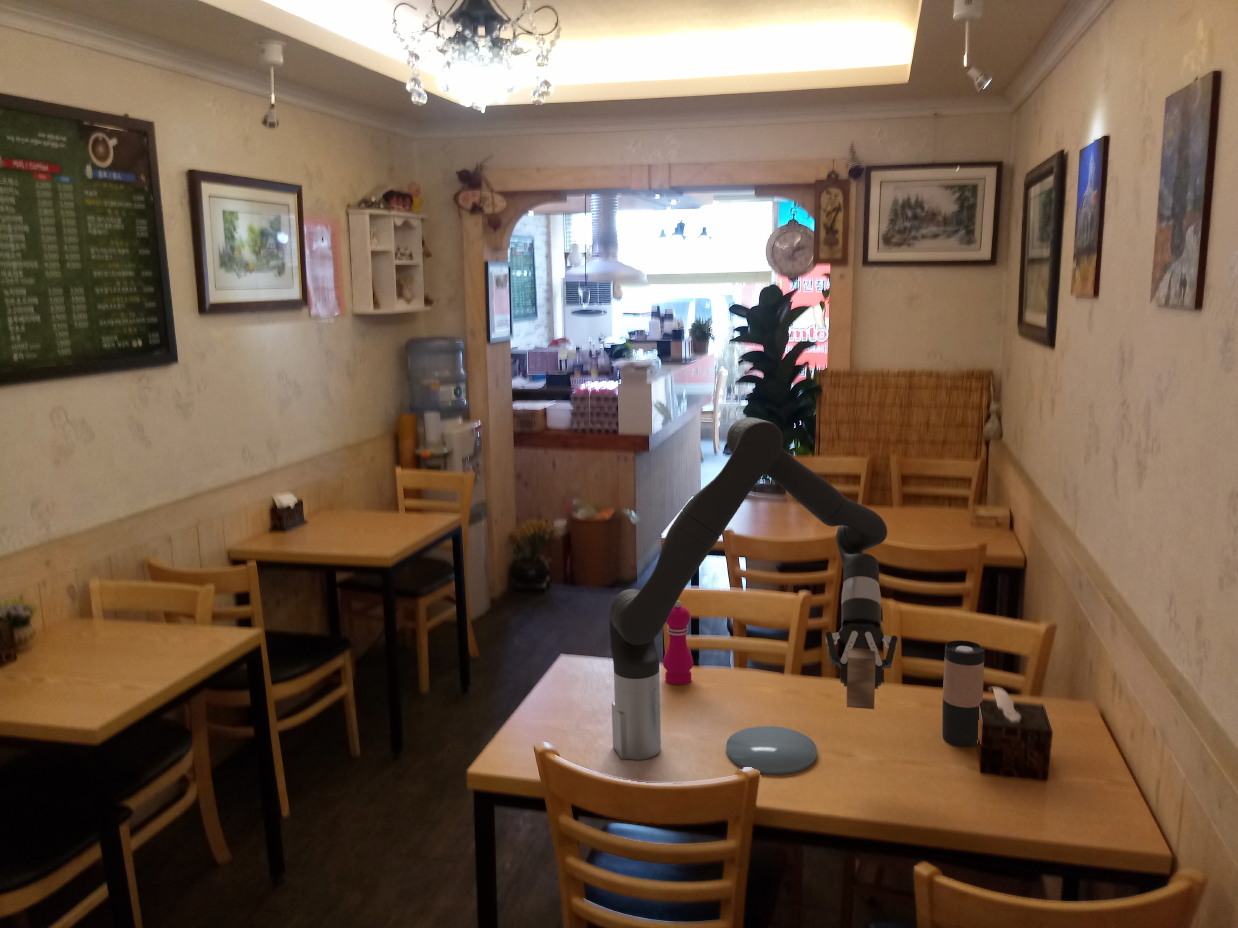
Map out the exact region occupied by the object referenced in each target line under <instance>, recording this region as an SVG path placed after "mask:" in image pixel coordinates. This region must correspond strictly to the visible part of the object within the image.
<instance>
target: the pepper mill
mask: <svg viewBox="0 0 1238 928" xmlns="http://www.w3.org/2000/svg"><path fill="white" fill-rule="evenodd" d="M690 621H691V614H690V611H689V610H688V608H686V607H684V606H682V602H681V601H680V600H679V599H678V600H677V602H676V604H675V605H674V607H673V609H672V611H671V613H670V615H669V617H668V619H667V620H666V622H665V624H667V625H666V626H667V627H666V628H667V630H666V631H667V633H668V637H669V642H668V647H667V649H666V651H665V653H664V656H663V662H662V664H663V668H664V669H665V674H664V677H665V679H666V680H665V681H666V683H668V682H669V683H668V684H670V683H672V684H671V685H674V684H683V685H686V683H687V684H689V683H691V681H692V672H691V669H692V668H693V666H694V659H693V658H694V657H693V656H692V653H691V650H690V649H689V645H688V643H687V634H689V626H688V624H689V623H690Z"/></svg>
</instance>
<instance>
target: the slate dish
mask: <svg viewBox="0 0 1238 928" xmlns="http://www.w3.org/2000/svg"><path fill="white" fill-rule="evenodd" d="M725 744H726V749H725V750H726V754H727V757H728V758H729V760H730V761H731V762H732V763H734V764H735V765H737V766H738V767H740V768H742V769H744V768H743V767H752V768H754V769H757V770H759V771H760V772H761V773H760V774H762V775H763V774H764V775H789V773H790V774H793V773H798V772H801V771H802V772H803V771H804V770H806V769H808V768H810V767H811V766H812V765H813V764H814V763H815V761H816V760H817V754H818V752H817V750H818V749H817V745H816V743H815V741H813V740H812V739H811V737H809V736H807V735H806V734H804V733H802V732H799V731H797V730H795V729H791V728H787V727H781V726H775V725H774V726H771V725H763V726H762V725H761V726H752V727H746V728H744V729H741V730H738V731H736V732H735V733H733V734H731V735H730V736H729V737H728V739H727V740H726V743H725Z"/></svg>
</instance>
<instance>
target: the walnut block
mask: <svg viewBox="0 0 1238 928" xmlns="http://www.w3.org/2000/svg"><path fill="white" fill-rule="evenodd" d="M875 664H876V658H875V651H871V650H870V649H865V648H852V649H848V661H847V665H848V675H847V687H846V708H853V709H866V710H875V695H876V694H875V693H876V691H875V690H876V689H875Z"/></svg>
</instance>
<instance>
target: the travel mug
mask: <svg viewBox="0 0 1238 928" xmlns="http://www.w3.org/2000/svg"><path fill="white" fill-rule="evenodd" d="M985 652H986V651H985V649H983V648H982V647H981V645H980V644H979V643H977V642H975V641H970V640H957V639H956V640H952V641H948V642H947V643H945V646H944V665H943V683H942V731H941V732H942V739H943V740H944V742H946V743H948V744H950V745H952V746H954V747H955V746H956V747H961V748H971V747H975V746H977V745H978V744H977V740H978V720H979V706H980V703H981V702H982V701H983V699H984V673H985ZM982 703H983V702H982Z"/></svg>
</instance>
